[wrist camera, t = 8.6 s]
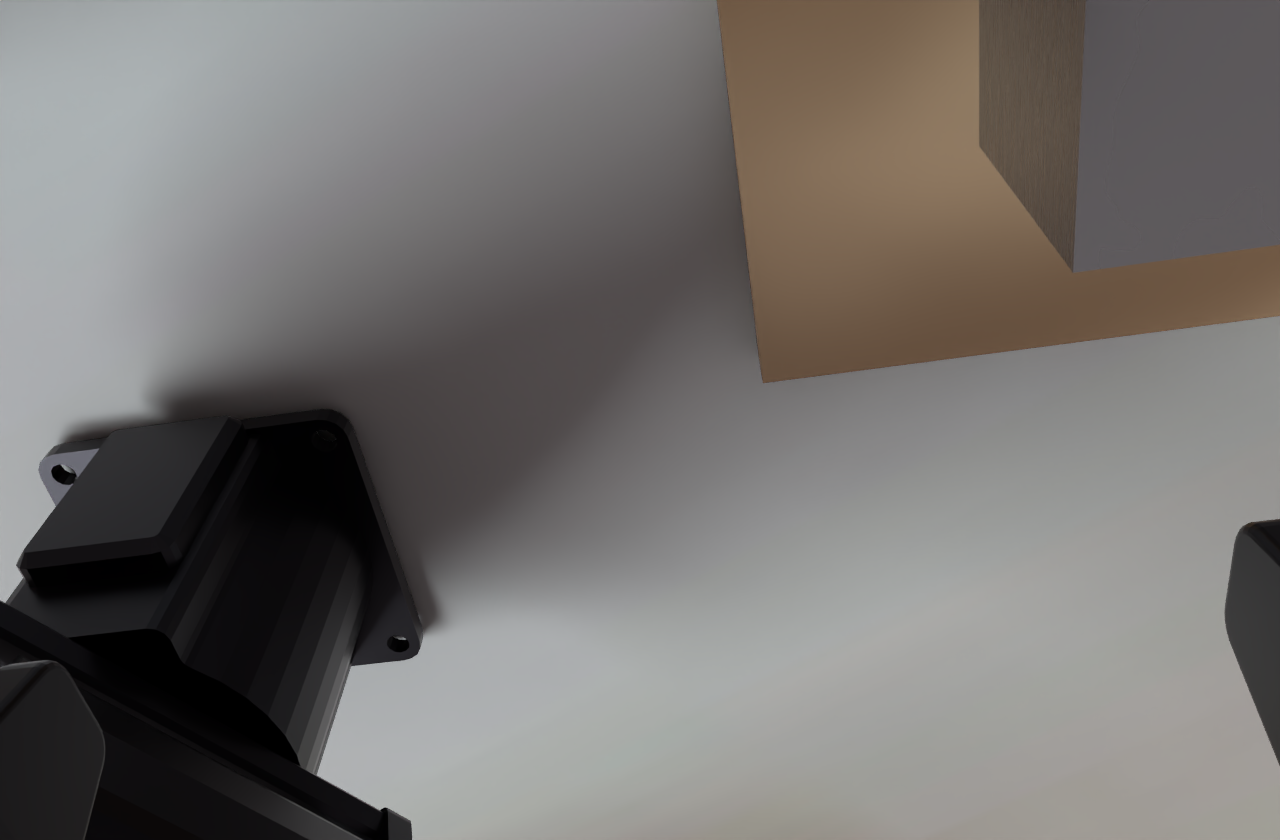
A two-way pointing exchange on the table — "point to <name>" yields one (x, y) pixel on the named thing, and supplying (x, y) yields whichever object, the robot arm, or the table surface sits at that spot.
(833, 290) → the base board
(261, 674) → the robot arm
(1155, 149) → the sleeve
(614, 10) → the table surface
